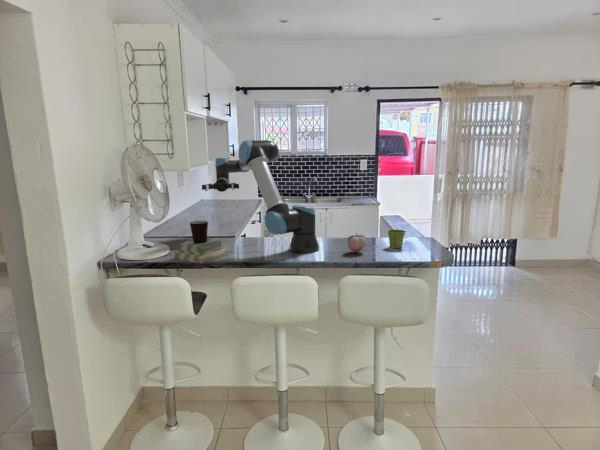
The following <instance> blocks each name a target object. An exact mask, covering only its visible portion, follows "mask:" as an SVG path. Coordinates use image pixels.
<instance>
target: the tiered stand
mask: <svg viewBox="0 0 600 450" xmlns="http://www.w3.org/2000/svg"><path fill="white" fill-rule="evenodd" d="M179 247H180V251H179V250H178V251H176V252H174V259H175V260H180V261H186V262H192V263H197V264H200V265H201V264H204V263H208V262H211V261H213V260H215V259H220V258H222V257H225V256H228V253H229V252H228V248H225V247H222V240H219V239H214V238H213V239H212V238H207V242H206V243H199V244H198V243H194V242H193V239H191V240H188V241H187V240H186V241H184V242H180V243H179Z"/></svg>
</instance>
